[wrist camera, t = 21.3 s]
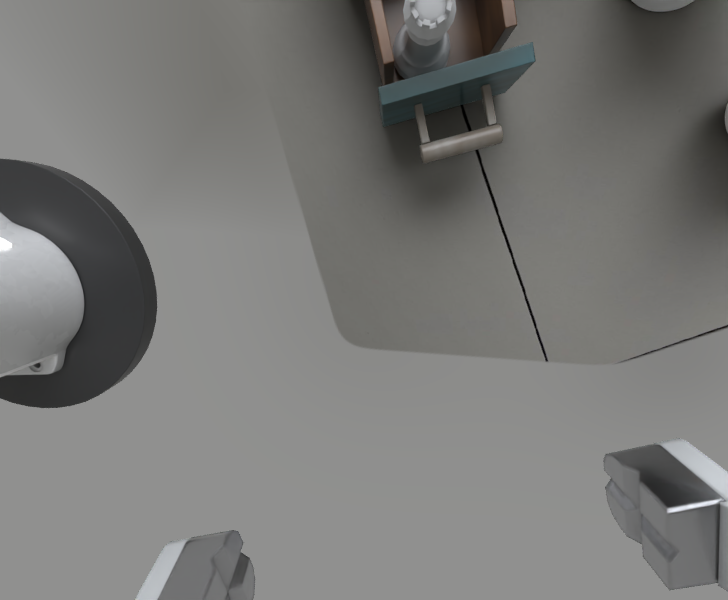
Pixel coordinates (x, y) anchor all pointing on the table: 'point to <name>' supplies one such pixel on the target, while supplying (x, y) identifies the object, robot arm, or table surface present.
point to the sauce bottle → (726, 117)
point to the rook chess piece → (423, 37)
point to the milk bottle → (661, 4)
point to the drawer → (451, 71)
